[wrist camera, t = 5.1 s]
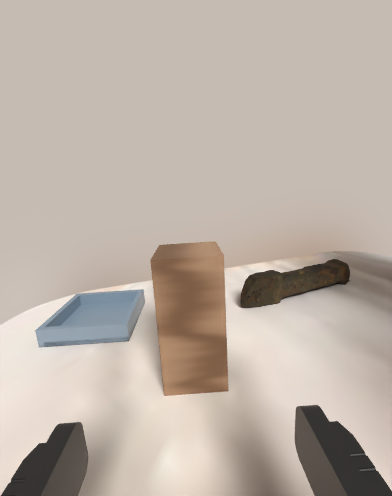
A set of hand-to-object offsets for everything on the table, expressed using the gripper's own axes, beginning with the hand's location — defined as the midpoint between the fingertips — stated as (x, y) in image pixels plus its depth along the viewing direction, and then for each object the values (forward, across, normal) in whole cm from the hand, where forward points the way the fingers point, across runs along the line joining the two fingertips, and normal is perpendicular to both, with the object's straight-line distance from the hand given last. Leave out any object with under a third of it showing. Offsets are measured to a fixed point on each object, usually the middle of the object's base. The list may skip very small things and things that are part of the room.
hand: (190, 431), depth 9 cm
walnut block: (+11, 0, +6) cm, 13 cm away
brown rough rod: (+25, -16, +7) cm, 30 cm away
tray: (+21, +12, +6) cm, 25 cm away
